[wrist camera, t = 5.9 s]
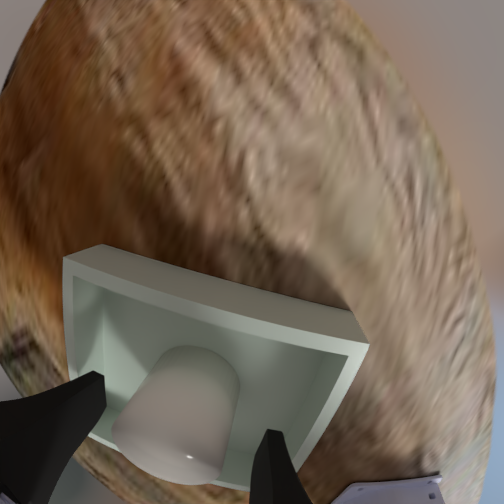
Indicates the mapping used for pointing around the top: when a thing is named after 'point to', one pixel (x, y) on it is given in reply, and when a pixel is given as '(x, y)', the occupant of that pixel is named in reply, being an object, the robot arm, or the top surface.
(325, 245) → the top surface
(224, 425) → the white rounded cylinder
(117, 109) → the top surface
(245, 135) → the top surface
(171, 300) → the bus tub
